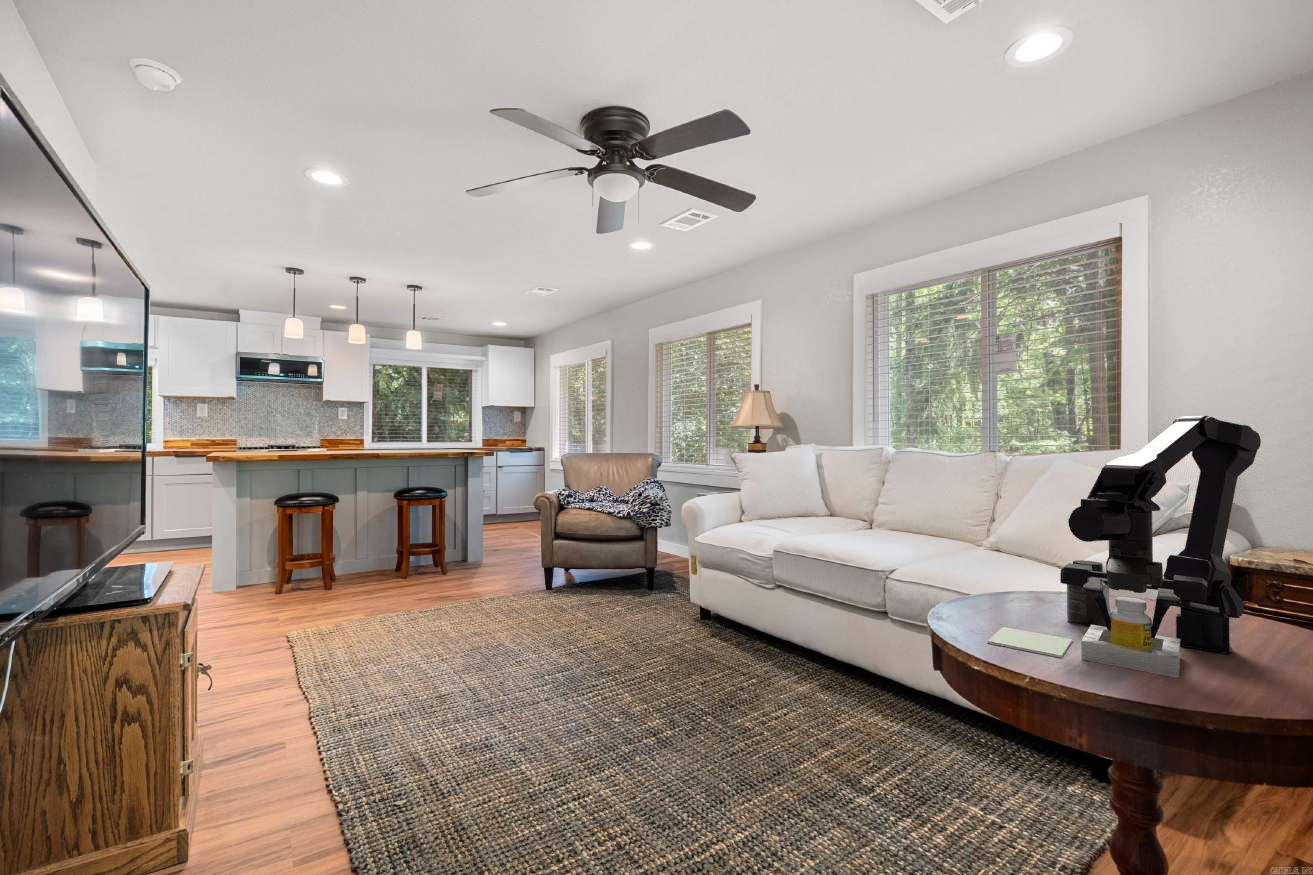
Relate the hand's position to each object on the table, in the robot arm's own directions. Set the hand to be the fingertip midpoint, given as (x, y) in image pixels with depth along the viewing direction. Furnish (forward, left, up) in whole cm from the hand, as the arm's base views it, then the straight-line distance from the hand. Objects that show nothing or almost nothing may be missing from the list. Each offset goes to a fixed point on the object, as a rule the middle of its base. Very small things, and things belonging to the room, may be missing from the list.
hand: (1130, 633), depth 99 cm
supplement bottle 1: (+8, -19, -4) cm, 21 cm away
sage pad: (+14, +2, -4) cm, 15 cm away
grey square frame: (0, 0, -4) cm, 4 cm away
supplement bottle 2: (0, 0, -4) cm, 4 cm away
